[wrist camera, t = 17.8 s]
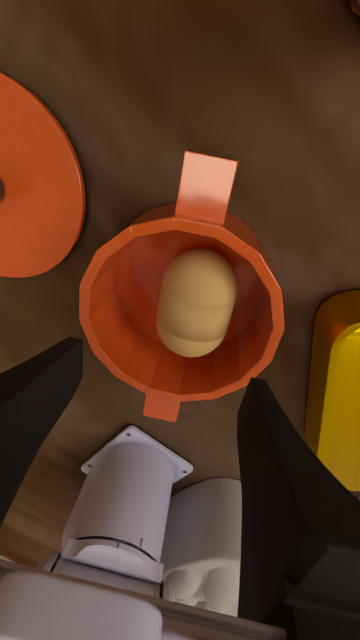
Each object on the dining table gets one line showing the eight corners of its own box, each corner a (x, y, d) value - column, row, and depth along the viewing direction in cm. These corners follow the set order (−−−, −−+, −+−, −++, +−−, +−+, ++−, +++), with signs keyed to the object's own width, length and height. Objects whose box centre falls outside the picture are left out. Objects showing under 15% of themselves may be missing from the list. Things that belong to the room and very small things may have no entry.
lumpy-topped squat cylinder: (290, 520, 33) (309, 629, 26) (202, 552, 39) (197, 649, 31) (225, 468, 30) (225, 573, 23) (141, 511, 36) (118, 606, 29)
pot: (104, 361, 26) (77, 409, 21) (119, 134, 18) (80, 129, 13) (235, 391, 26) (237, 445, 21) (312, 173, 17) (344, 182, 13)
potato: (207, 332, 24) (228, 372, 20) (147, 330, 22) (157, 373, 19) (230, 242, 20) (261, 270, 16) (161, 234, 19) (177, 262, 15)
